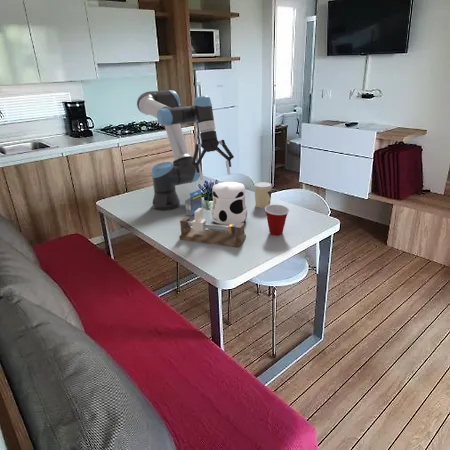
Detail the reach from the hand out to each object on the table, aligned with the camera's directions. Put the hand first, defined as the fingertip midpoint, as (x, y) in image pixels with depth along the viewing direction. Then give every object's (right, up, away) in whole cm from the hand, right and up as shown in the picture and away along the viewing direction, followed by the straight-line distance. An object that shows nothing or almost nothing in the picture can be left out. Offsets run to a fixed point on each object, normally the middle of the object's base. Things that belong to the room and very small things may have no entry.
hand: (215, 177), depth 172 cm
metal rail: (-1, -25, -12) cm, 28 cm away
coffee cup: (+25, -13, +25) cm, 37 cm away
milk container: (+7, -21, +7) cm, 23 cm away
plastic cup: (+28, -27, -8) cm, 39 cm away
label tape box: (-12, -17, +19) cm, 28 cm away
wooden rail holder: (-1, -29, -10) cm, 31 cm away
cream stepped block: (-7, -24, -10) cm, 27 cm away
